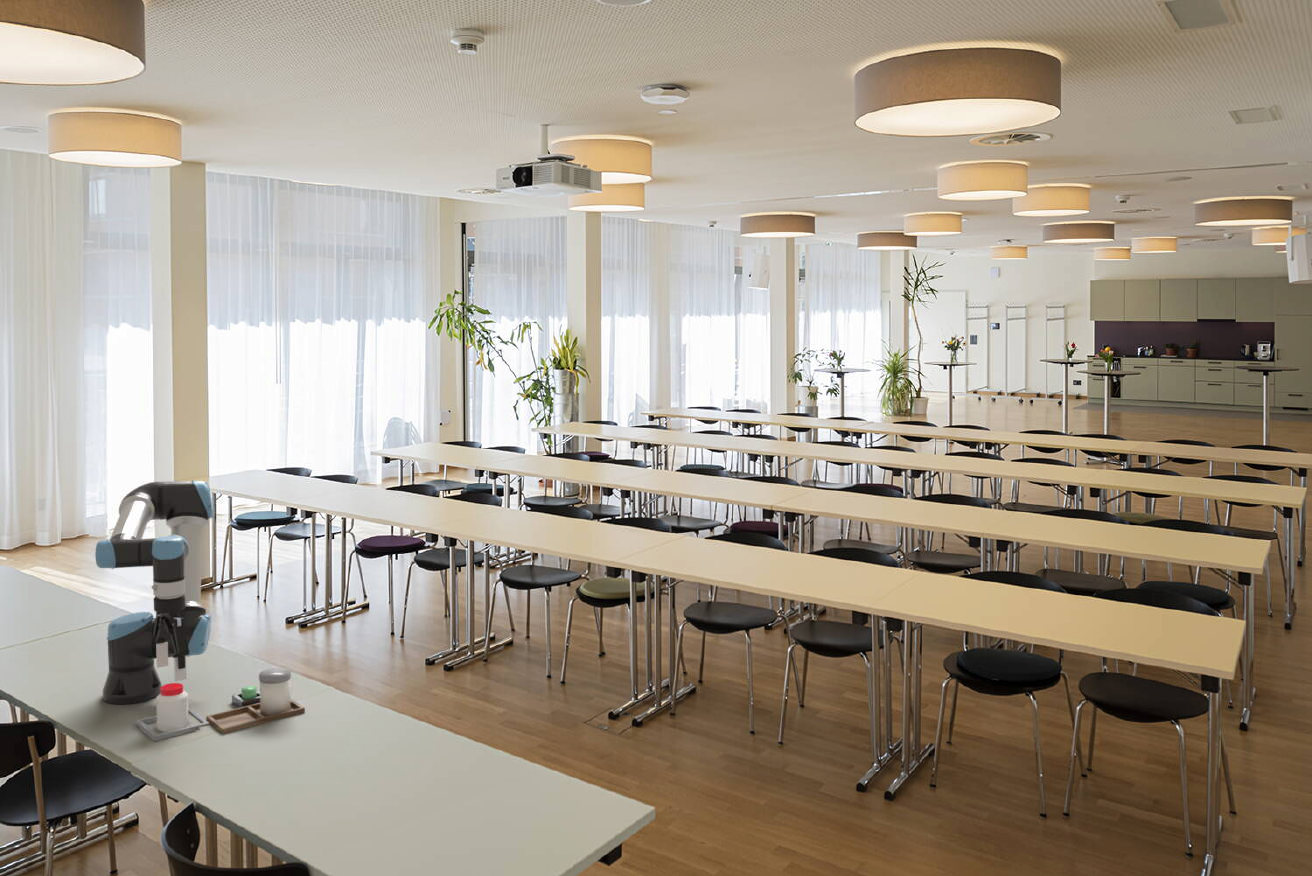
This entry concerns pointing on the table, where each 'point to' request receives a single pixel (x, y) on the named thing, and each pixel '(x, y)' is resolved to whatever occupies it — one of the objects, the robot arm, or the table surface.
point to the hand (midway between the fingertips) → (171, 673)
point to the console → (241, 703)
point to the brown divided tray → (247, 717)
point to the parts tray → (155, 737)
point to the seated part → (275, 691)
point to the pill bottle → (172, 708)
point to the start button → (249, 692)
